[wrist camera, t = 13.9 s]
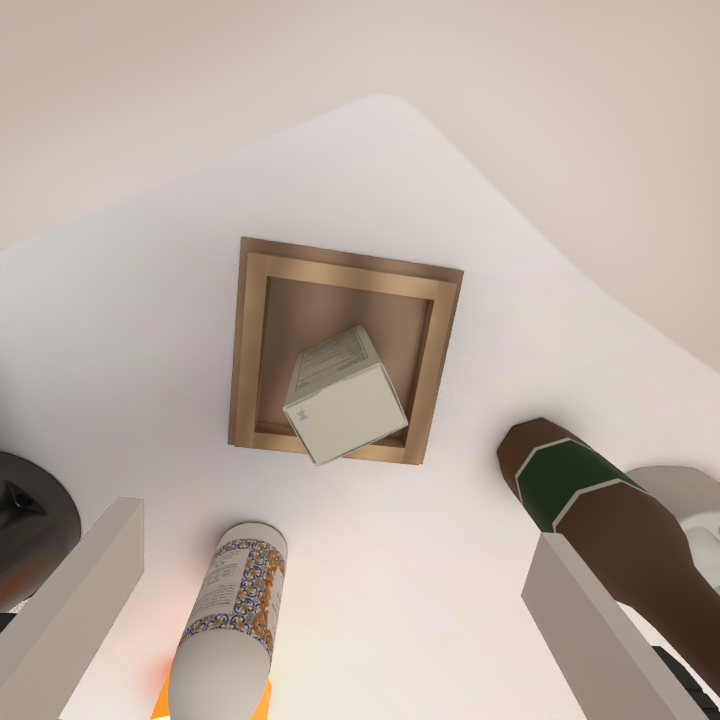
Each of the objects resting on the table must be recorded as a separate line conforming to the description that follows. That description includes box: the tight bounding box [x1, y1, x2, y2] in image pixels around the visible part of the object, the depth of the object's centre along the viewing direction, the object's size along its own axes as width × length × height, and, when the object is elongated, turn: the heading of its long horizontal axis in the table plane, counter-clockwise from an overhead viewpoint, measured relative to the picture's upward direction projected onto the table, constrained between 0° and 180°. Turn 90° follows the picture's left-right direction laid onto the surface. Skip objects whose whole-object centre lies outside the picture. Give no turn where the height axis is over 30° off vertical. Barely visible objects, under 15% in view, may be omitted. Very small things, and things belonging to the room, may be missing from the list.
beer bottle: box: [498, 418, 720, 698], centre depth 27 cm, size 8×8×24 cm
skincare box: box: [283, 325, 408, 466], centre depth 28 cm, size 6×4×12 cm
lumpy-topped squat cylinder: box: [625, 466, 720, 595], centre depth 37 cm, size 10×13×9 cm
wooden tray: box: [228, 237, 464, 465], centre depth 33 cm, size 18×18×3 cm
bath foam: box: [167, 523, 288, 720], centre depth 30 cm, size 7×7×20 cm
